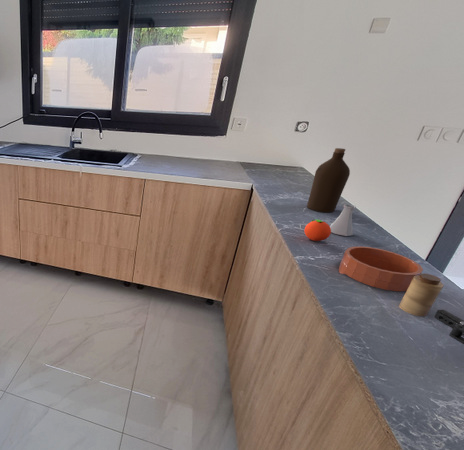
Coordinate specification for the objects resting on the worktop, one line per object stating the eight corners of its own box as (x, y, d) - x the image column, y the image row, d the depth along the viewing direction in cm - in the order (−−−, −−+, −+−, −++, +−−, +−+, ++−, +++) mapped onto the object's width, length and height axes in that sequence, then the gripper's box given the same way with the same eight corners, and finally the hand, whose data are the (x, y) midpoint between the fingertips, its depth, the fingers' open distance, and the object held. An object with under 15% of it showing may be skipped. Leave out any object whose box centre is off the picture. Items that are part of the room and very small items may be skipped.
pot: (390, 268, 88) (399, 250, 86) (427, 299, 75) (438, 278, 73) (329, 261, 92) (335, 243, 90) (354, 289, 79) (362, 269, 77)
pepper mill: (416, 309, 72) (436, 273, 68) (429, 322, 68) (451, 284, 64) (392, 306, 73) (410, 270, 69) (404, 318, 69) (424, 281, 65)
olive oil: (325, 214, 125) (346, 152, 115) (298, 206, 134) (316, 147, 124) (342, 211, 128) (365, 149, 118) (315, 203, 137) (334, 145, 127)
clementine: (296, 233, 110) (301, 215, 107) (317, 234, 108) (324, 216, 106) (308, 244, 102) (315, 224, 99) (332, 245, 101) (339, 225, 98)
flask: (357, 233, 109) (367, 206, 105) (347, 238, 106) (358, 211, 102) (332, 226, 115) (341, 200, 111) (323, 230, 111) (332, 204, 107)
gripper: (646, 361, 46) (501, 295, 61) (556, 366, 46) (432, 298, 61) (611, 395, 49) (481, 324, 64) (526, 400, 49) (415, 328, 64)
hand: (458, 312), depth 62 cm, fingers open, 8 cm apart
